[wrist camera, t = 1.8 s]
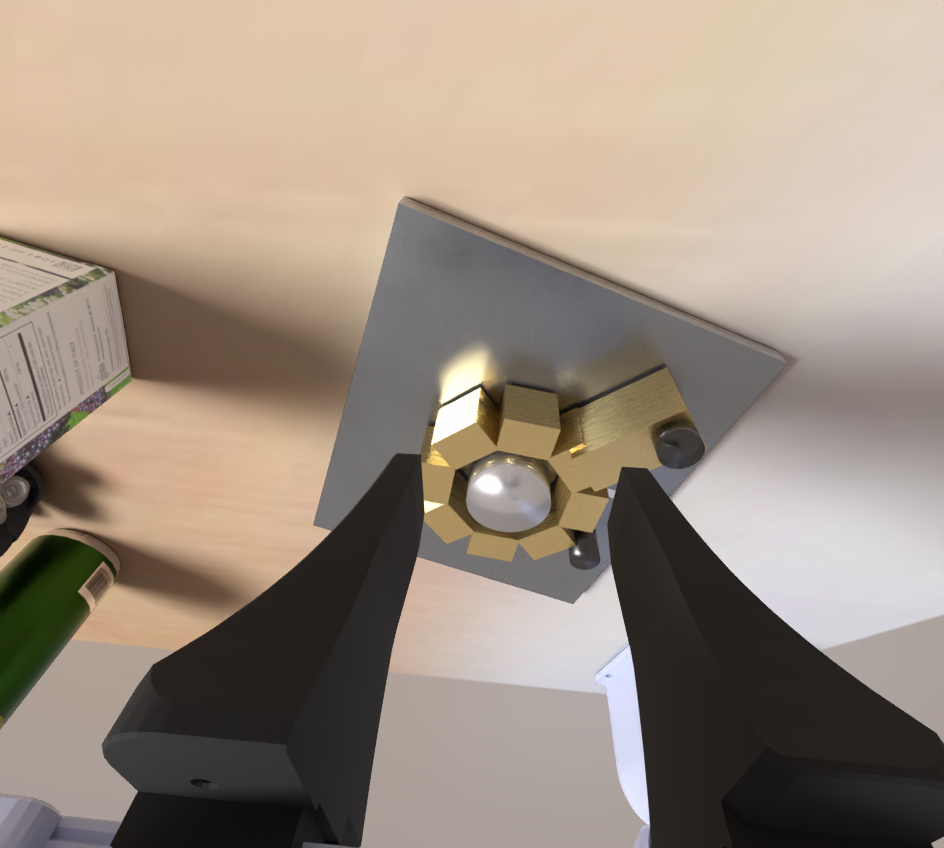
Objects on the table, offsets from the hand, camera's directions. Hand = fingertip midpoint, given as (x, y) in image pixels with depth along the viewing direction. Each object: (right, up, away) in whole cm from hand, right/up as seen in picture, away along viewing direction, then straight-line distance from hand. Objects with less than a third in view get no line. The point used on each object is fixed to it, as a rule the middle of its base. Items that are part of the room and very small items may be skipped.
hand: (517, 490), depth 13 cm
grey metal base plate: (+1, +1, +12) cm, 12 cm away
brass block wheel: (+2, +1, +10) cm, 10 cm away
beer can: (-27, -7, +20) cm, 34 cm away
